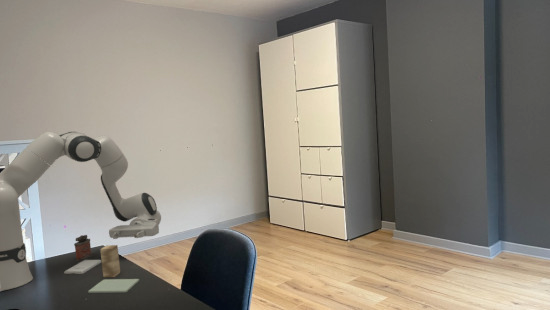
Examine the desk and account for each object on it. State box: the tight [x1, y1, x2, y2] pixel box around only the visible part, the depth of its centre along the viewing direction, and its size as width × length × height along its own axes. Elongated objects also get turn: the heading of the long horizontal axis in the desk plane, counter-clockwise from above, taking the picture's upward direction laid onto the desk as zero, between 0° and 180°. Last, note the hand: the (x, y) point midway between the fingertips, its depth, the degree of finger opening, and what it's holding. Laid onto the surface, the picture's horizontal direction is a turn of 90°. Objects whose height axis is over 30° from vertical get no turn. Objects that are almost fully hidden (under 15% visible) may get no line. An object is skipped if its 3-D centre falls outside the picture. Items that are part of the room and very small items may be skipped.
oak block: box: [100, 244, 121, 278], centre depth 160 cm, size 4×4×11 cm
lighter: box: [73, 234, 93, 262], centre depth 183 cm, size 8×3×10 cm, turn 162°
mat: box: [87, 278, 140, 294], centre depth 148 cm, size 14×10×1 cm
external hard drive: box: [63, 259, 102, 275], centre depth 170 cm, size 2×8×12 cm
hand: (125, 236), depth 171 cm, fingers open, 8 cm apart
